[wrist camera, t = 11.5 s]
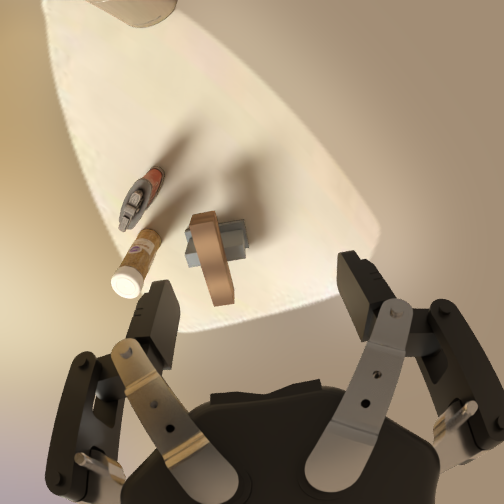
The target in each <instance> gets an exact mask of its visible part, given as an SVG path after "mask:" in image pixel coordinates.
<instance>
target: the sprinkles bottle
mask: <svg viewBox="0 0 504 504" xmlns="http://www.w3.org/2000/svg"><path fill="white" fill-rule="evenodd" d="M160 244H161V239H160V237H159V235H158V234H157V233H156V232H155V231H153V230H150V229H144V230H142V231H141V232H140V233H139V234H138V236H137V238H136V240H135V241H134V242H133V244H132V246H131V247H130V249H129V250H128V252H127V254H126V256H125V258H124V260H123V261H122V263H121V265H120V267H119V268H118V269H117V270H116V271H115V273H114V275H113V277H112V280H111V283H112V287H113V289H114V290H115V292H116V293H117V294H119V295H120V296H122V297H124V298H135V297H137V296H138V295H139V294H140V292H141V290H142V287H143V284H144V279H145V277H146V275H147V273H148V271H149V269H150V267H151V265H152V262H153V260H154V258H155V256H156V252H157V250H158V248H159V247H160Z"/></svg>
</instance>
